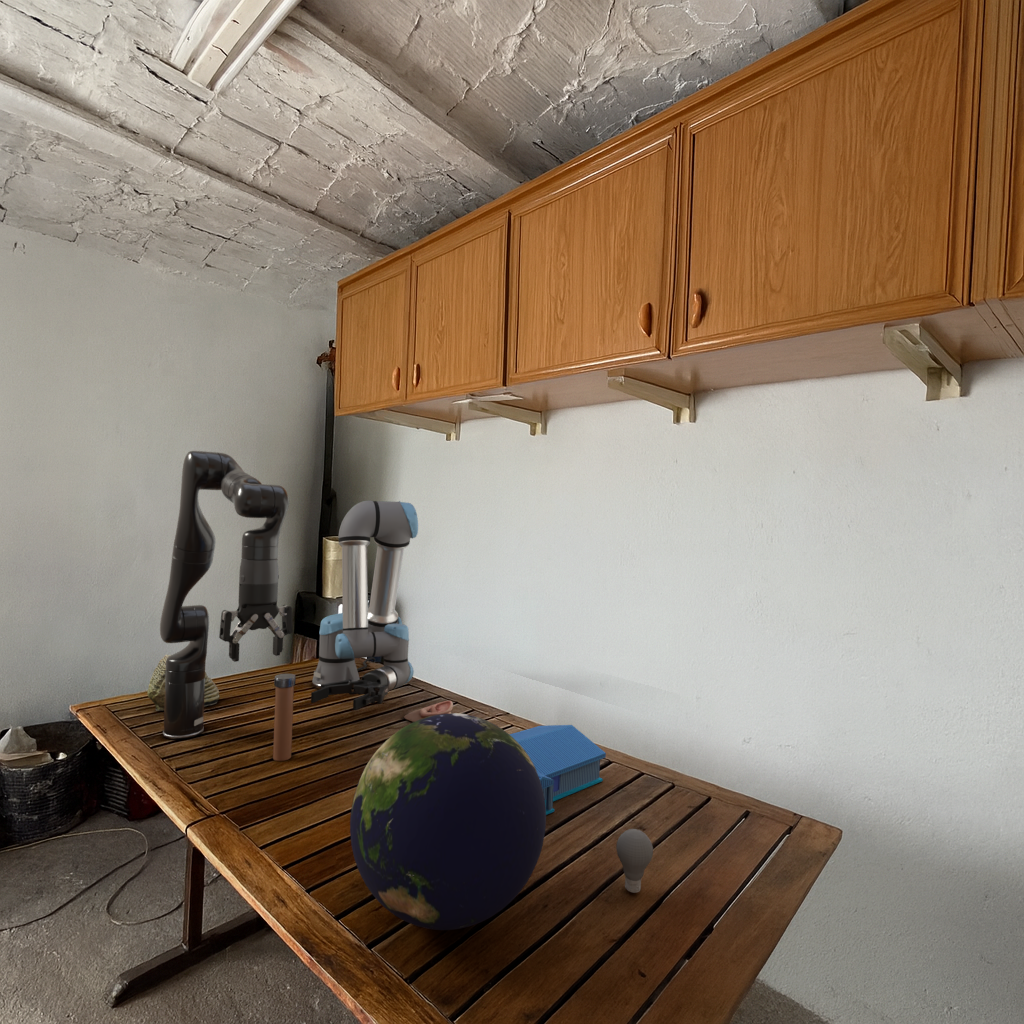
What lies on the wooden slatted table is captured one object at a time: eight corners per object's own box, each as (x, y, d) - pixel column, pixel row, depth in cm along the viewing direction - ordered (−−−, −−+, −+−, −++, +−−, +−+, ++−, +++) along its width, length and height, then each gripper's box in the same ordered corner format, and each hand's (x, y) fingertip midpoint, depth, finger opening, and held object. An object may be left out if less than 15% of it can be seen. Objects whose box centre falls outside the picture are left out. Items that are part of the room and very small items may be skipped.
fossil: (144, 707, 182) (145, 655, 182) (212, 696, 194) (213, 647, 194) (151, 716, 175) (153, 662, 175) (221, 703, 188) (223, 653, 188)
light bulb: (610, 879, 108) (613, 822, 108) (644, 879, 109) (647, 822, 109) (619, 902, 102) (622, 840, 102) (655, 901, 103) (658, 840, 103)
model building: (482, 842, 118) (484, 789, 118) (409, 793, 137) (411, 747, 136) (614, 785, 145) (616, 742, 145) (538, 751, 163) (540, 712, 163)
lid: (269, 685, 151) (270, 676, 151) (285, 680, 156) (286, 672, 156) (283, 689, 149) (284, 680, 149) (299, 684, 153) (300, 675, 153)
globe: (302, 941, 90) (310, 732, 90) (412, 840, 118) (419, 680, 117) (494, 1014, 79) (505, 776, 78) (565, 883, 107) (574, 707, 106)
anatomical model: (400, 707, 180) (414, 695, 191) (399, 721, 180) (414, 708, 191) (445, 712, 177) (456, 700, 189) (444, 726, 177) (456, 713, 189)
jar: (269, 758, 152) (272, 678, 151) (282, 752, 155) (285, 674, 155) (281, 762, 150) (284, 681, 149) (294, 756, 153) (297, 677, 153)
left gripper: (284, 576, 139) (281, 649, 139) (216, 579, 129) (213, 658, 130) (299, 580, 134) (296, 656, 134) (230, 584, 124) (227, 667, 124)
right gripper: (413, 700, 184) (372, 722, 164) (342, 689, 193) (294, 708, 173) (414, 675, 184) (373, 693, 164) (343, 664, 193) (295, 681, 173)
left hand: (256, 657), depth 132 cm, fingers open, 8 cm apart
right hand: (332, 701), depth 169 cm, fingers open, 13 cm apart
